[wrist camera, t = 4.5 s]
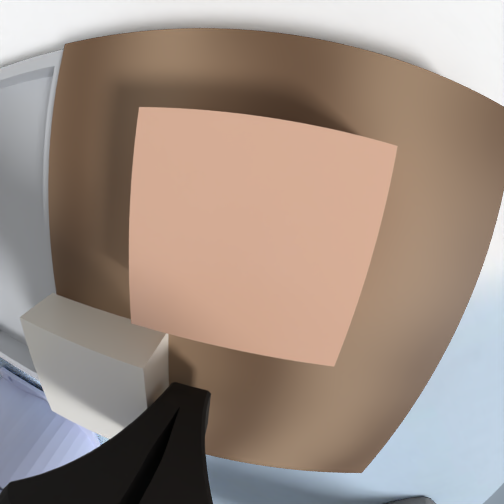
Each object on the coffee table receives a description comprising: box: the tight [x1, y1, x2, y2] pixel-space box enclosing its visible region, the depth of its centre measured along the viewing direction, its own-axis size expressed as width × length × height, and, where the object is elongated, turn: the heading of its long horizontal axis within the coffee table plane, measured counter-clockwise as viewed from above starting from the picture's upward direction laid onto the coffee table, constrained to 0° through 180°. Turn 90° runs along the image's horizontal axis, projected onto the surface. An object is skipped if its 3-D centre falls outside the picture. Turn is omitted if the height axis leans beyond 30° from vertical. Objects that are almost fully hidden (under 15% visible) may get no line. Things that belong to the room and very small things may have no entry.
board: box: [48, 28, 504, 473], centre depth 10 cm, size 14×16×2 cm
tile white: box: [20, 293, 169, 439], centre depth 10 cm, size 5×5×2 cm
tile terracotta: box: [129, 107, 398, 367], centre depth 7 cm, size 5×5×2 cm
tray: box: [0, 49, 64, 381], centre depth 11 cm, size 10×16×2 cm, turn 171°
